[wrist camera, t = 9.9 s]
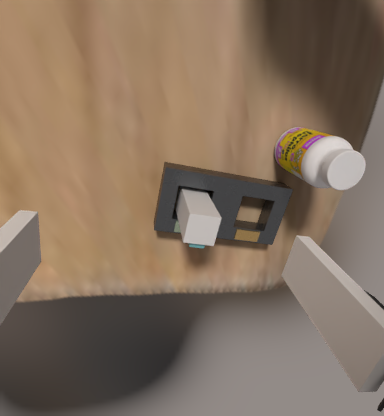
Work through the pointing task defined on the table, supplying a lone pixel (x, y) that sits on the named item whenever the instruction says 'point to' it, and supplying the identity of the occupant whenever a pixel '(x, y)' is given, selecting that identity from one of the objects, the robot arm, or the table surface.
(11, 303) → the robot arm
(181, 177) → the panel
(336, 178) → the supplement bottle
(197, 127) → the table surface
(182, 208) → the plug
